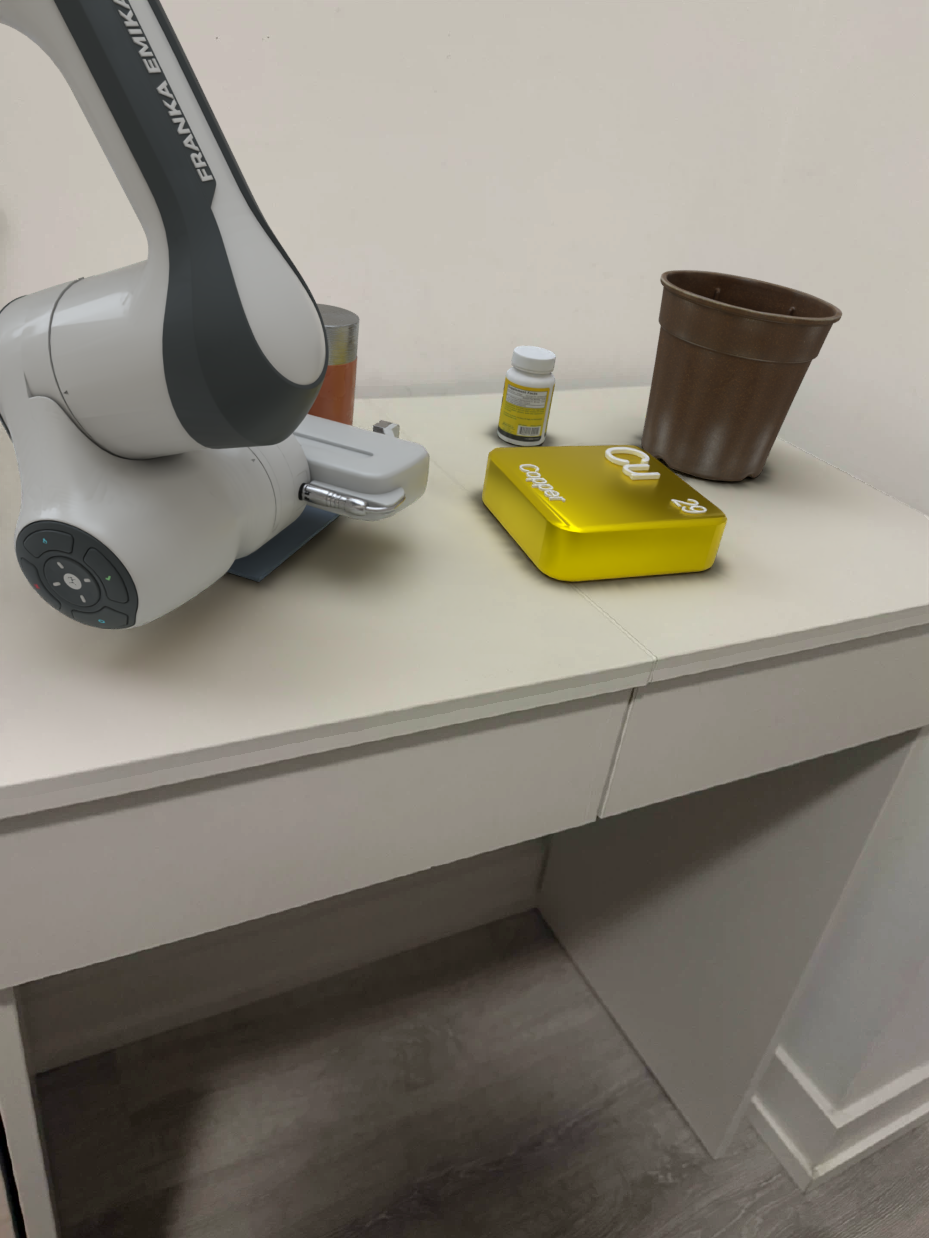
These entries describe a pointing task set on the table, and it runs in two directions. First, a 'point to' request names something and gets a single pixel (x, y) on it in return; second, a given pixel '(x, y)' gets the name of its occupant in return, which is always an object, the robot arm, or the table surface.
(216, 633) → the table surface
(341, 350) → the tin can
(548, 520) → the element tile
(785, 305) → the plant pot
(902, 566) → the table surface
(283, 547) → the rubber mat
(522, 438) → the supplement bottle
